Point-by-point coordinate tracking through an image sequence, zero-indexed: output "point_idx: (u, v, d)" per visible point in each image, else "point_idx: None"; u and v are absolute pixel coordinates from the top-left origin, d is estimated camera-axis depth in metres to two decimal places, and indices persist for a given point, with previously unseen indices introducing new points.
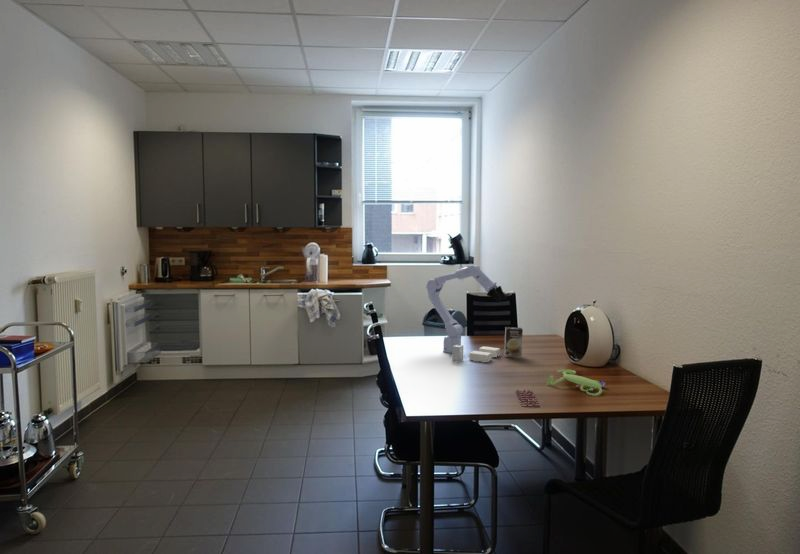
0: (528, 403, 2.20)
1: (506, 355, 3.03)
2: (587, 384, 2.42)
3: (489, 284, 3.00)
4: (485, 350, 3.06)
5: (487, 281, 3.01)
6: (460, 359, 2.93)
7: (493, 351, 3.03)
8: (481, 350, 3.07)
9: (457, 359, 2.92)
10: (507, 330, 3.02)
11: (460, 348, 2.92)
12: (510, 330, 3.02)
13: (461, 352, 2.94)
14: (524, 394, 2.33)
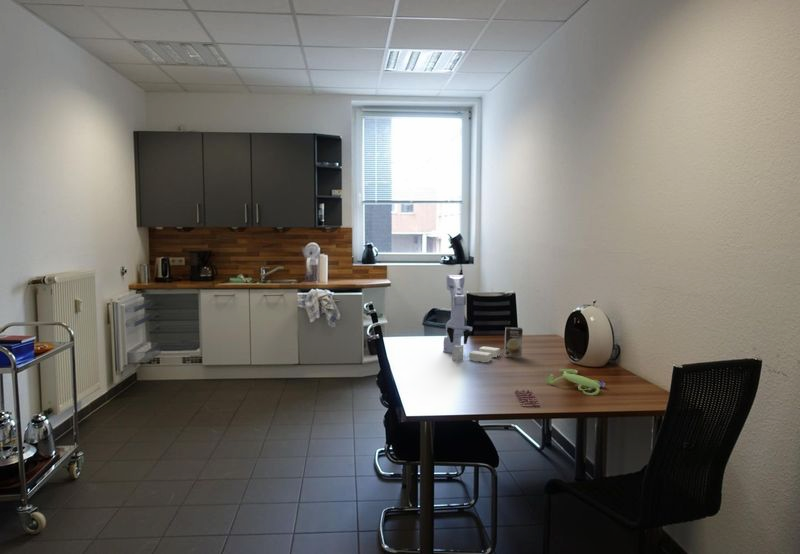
0: (528, 403, 2.20)
1: (506, 355, 3.03)
2: (585, 383, 2.43)
3: (453, 323, 2.93)
4: (485, 350, 3.06)
5: (453, 320, 2.93)
6: (460, 359, 2.93)
7: (493, 351, 3.03)
8: (481, 350, 3.07)
9: (457, 359, 2.92)
10: (507, 330, 3.02)
11: (460, 348, 2.92)
12: (510, 330, 3.02)
13: (461, 352, 2.94)
14: (523, 394, 2.33)
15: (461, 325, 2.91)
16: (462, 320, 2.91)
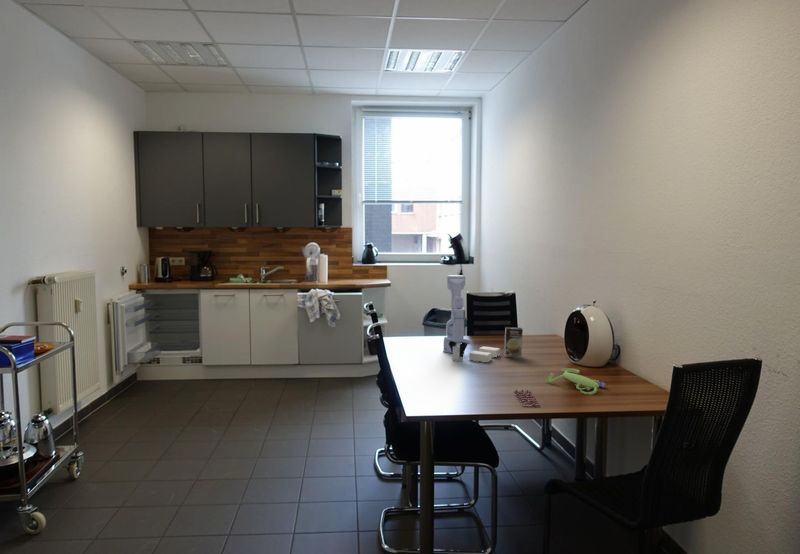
0: (528, 403, 2.20)
1: (506, 355, 3.03)
2: (583, 383, 2.44)
3: (453, 336, 2.94)
4: (485, 350, 3.06)
5: (453, 333, 2.93)
6: (460, 358, 2.93)
7: (493, 351, 3.03)
8: (481, 350, 3.07)
9: (457, 359, 2.92)
10: (507, 330, 3.02)
11: None
12: (510, 330, 3.02)
13: None
14: (523, 394, 2.33)
15: (460, 338, 2.92)
16: (461, 333, 2.92)
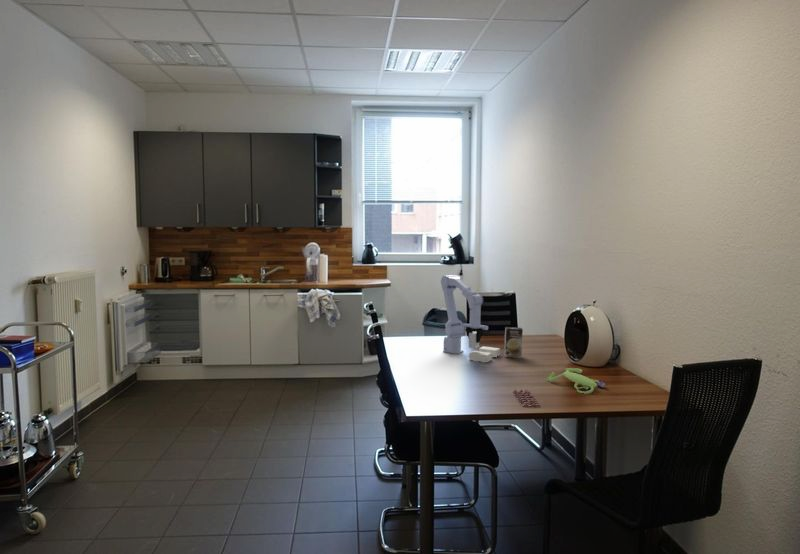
0: (529, 403, 2.20)
1: (506, 355, 3.03)
2: (581, 382, 2.45)
3: None
4: (485, 350, 3.06)
5: (470, 319, 2.97)
6: (476, 345, 2.97)
7: (493, 351, 3.03)
8: (481, 350, 3.07)
9: (473, 345, 2.96)
10: (507, 330, 3.02)
11: (476, 334, 2.96)
12: (510, 330, 3.02)
13: None
14: (522, 394, 2.33)
15: (477, 324, 2.95)
16: (478, 319, 2.95)
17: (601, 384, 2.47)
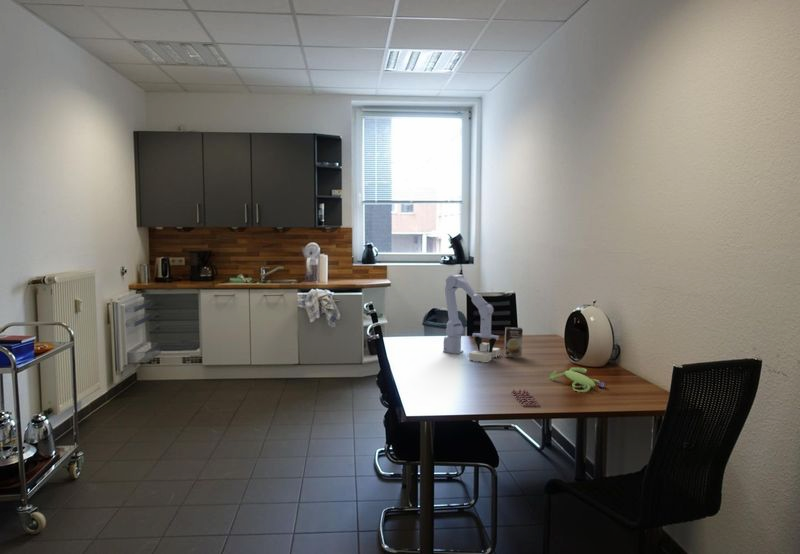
0: (529, 403, 2.20)
1: (506, 355, 3.03)
2: (580, 381, 2.46)
3: (480, 332, 3.01)
4: None
5: (480, 329, 3.00)
6: None
7: (493, 351, 3.03)
8: None
9: None
10: (507, 330, 3.02)
11: (487, 346, 2.99)
12: (510, 330, 3.02)
13: (488, 350, 3.01)
14: (521, 394, 2.33)
15: (488, 334, 2.99)
16: (489, 329, 2.99)
17: (601, 384, 2.47)
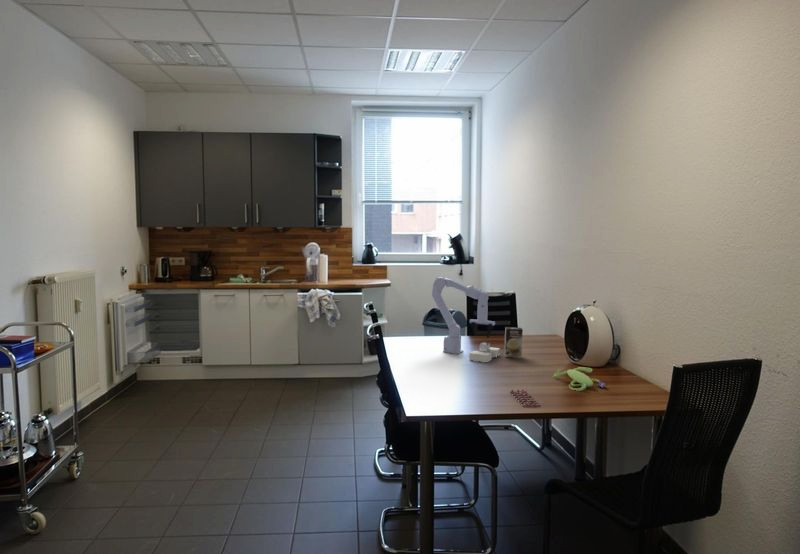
0: (529, 403, 2.20)
1: (506, 355, 3.03)
2: (578, 380, 2.48)
3: (477, 318, 3.12)
4: None
5: (477, 315, 3.12)
6: None
7: (493, 351, 3.03)
8: None
9: None
10: (507, 330, 3.02)
11: (487, 346, 2.99)
12: (510, 330, 3.02)
13: (488, 350, 3.01)
14: (520, 394, 2.33)
15: (484, 320, 3.10)
16: (485, 315, 3.10)
17: (600, 384, 2.47)
